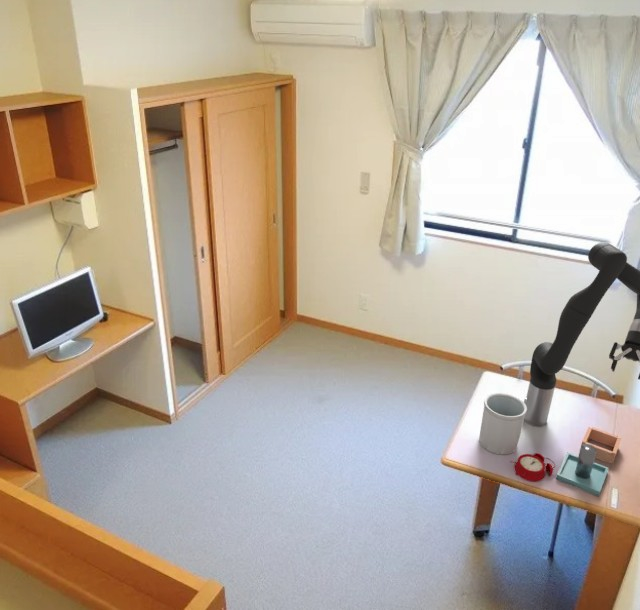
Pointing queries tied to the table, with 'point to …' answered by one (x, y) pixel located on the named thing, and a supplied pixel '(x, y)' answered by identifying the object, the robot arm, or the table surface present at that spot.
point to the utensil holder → (502, 423)
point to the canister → (585, 461)
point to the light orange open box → (605, 439)
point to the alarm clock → (532, 467)
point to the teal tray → (589, 484)
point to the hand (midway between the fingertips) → (625, 374)
